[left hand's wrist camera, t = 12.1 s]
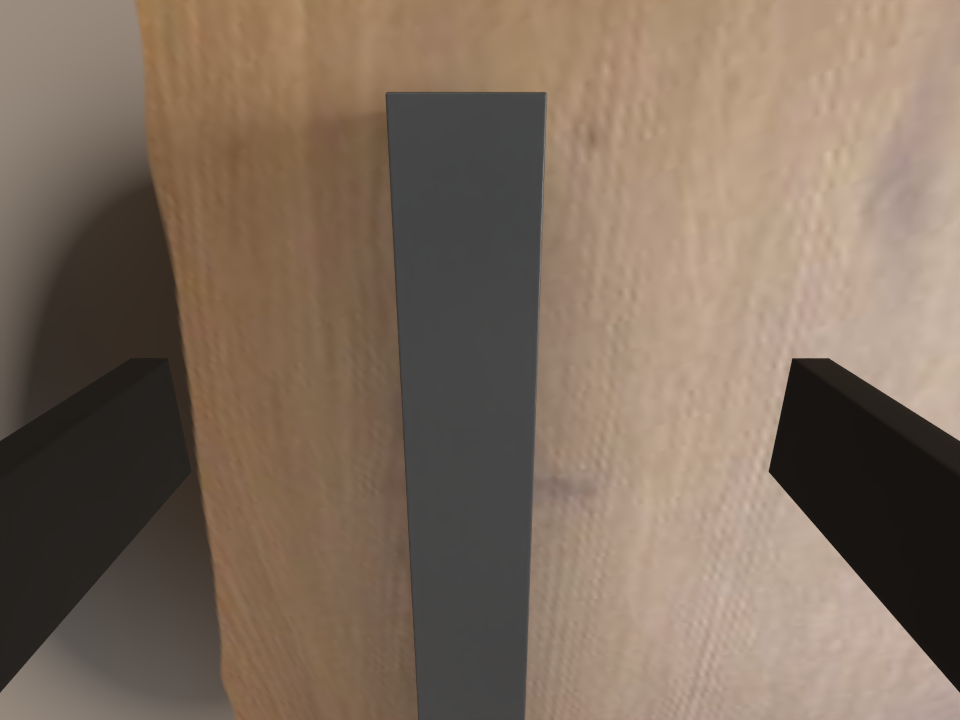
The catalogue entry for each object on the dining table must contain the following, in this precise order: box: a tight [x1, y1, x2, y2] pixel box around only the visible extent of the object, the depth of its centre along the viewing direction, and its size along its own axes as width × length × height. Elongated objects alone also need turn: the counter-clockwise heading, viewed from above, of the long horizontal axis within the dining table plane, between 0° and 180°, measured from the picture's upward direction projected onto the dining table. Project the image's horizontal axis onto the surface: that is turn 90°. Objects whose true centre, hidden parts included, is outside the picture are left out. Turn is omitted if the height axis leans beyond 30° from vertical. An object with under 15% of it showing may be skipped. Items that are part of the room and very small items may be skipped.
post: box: [386, 92, 547, 720], centre depth 34 cm, size 67×5×8 cm, turn 0°
